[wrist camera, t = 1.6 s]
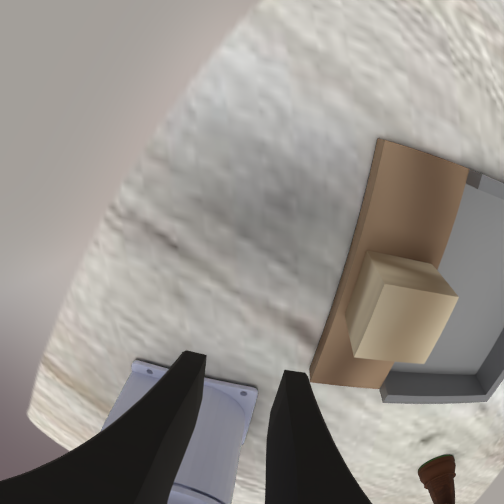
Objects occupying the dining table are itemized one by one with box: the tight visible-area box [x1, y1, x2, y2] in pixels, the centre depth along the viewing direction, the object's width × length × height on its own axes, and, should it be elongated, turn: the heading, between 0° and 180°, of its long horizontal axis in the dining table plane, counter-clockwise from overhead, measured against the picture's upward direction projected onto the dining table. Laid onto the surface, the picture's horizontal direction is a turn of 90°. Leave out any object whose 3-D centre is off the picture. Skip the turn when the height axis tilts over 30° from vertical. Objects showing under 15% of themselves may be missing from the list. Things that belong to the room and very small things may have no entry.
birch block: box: [344, 250, 459, 364], centre depth 15 cm, size 4×4×4 cm
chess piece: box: [418, 455, 456, 504], centre depth 21 cm, size 5×5×10 cm
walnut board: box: [310, 138, 469, 389], centre depth 17 cm, size 5×15×1 cm, turn 171°
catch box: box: [380, 169, 504, 404], centre depth 16 cm, size 10×15×3 cm, turn 171°
